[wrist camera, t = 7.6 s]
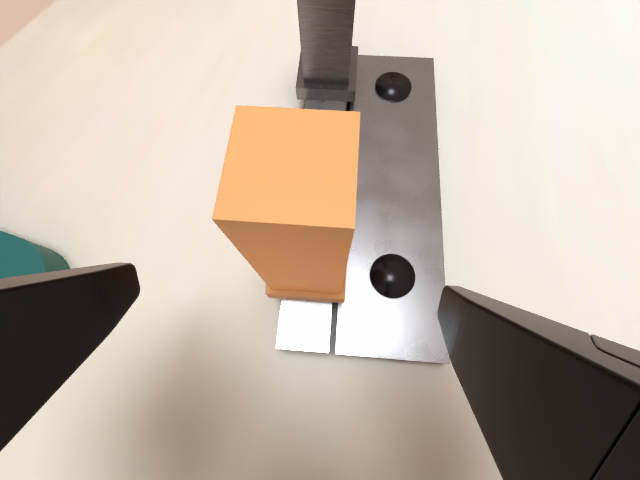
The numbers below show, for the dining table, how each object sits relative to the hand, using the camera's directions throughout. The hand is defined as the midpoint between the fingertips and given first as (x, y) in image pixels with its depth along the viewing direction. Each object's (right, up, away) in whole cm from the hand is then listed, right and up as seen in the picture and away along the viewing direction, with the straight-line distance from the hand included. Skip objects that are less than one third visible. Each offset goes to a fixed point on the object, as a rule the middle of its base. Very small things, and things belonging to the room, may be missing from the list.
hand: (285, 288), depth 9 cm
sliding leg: (0, 0, +9) cm, 9 cm away
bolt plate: (+6, +5, +12) cm, 14 cm away
